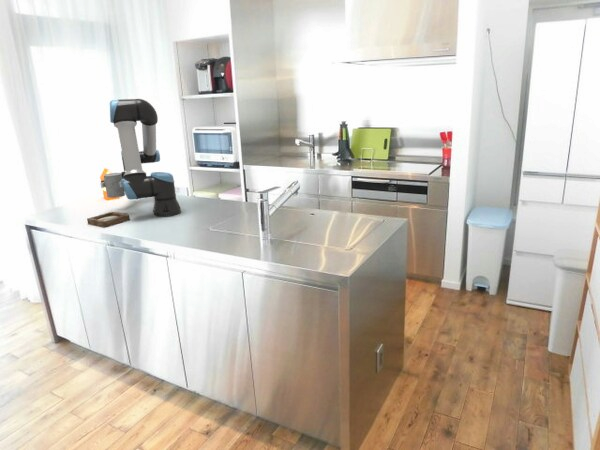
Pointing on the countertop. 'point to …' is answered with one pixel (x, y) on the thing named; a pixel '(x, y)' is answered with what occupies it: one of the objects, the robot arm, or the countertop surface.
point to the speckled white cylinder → (113, 185)
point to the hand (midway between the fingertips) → (110, 185)
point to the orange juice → (105, 187)
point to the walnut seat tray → (108, 219)
